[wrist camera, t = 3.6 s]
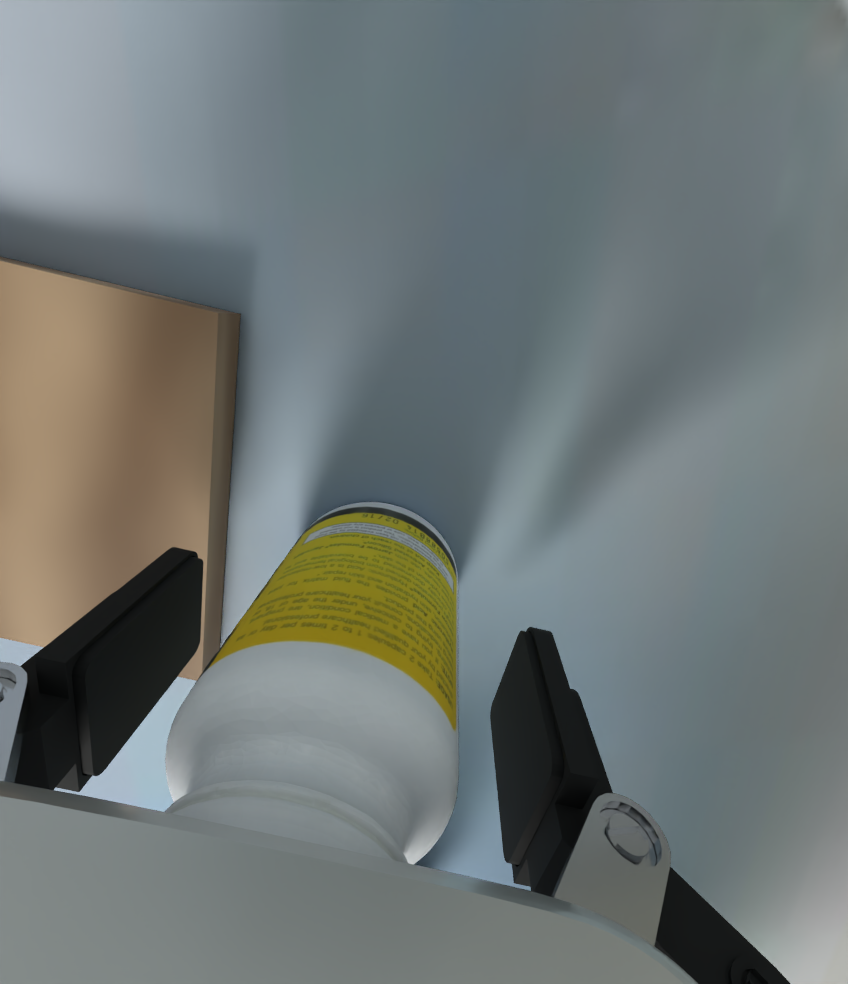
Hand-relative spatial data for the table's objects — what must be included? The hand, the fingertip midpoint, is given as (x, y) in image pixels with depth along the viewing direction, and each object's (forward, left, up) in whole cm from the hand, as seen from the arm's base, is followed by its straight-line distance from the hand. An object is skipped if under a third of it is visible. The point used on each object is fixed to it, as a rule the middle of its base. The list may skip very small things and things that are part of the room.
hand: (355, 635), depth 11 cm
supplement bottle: (0, 0, -3) cm, 3 cm away
